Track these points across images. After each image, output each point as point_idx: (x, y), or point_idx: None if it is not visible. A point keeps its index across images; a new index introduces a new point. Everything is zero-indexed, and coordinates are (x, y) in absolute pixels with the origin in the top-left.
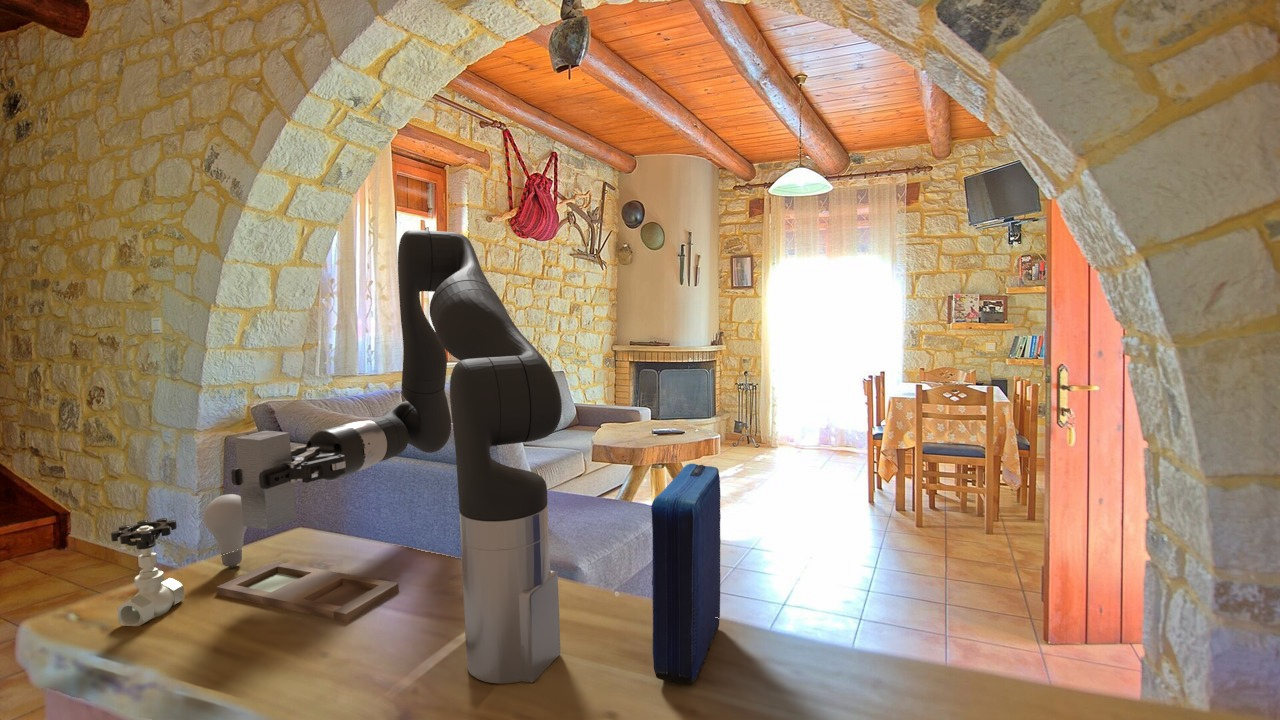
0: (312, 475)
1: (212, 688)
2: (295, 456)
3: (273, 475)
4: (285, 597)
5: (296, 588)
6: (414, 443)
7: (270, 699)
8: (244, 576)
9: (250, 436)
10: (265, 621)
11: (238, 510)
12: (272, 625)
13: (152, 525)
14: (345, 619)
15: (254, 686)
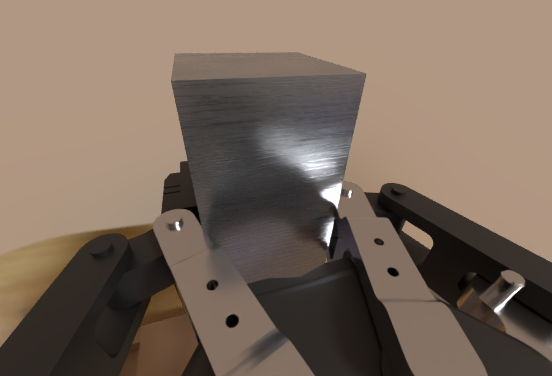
0: (128, 324)
1: (117, 230)
2: (319, 292)
3: (165, 181)
4: (172, 326)
5: (184, 355)
6: None
7: (44, 247)
8: None
9: (273, 56)
10: (179, 304)
11: (446, 302)
12: (160, 305)
13: None
14: None
15: (77, 247)
